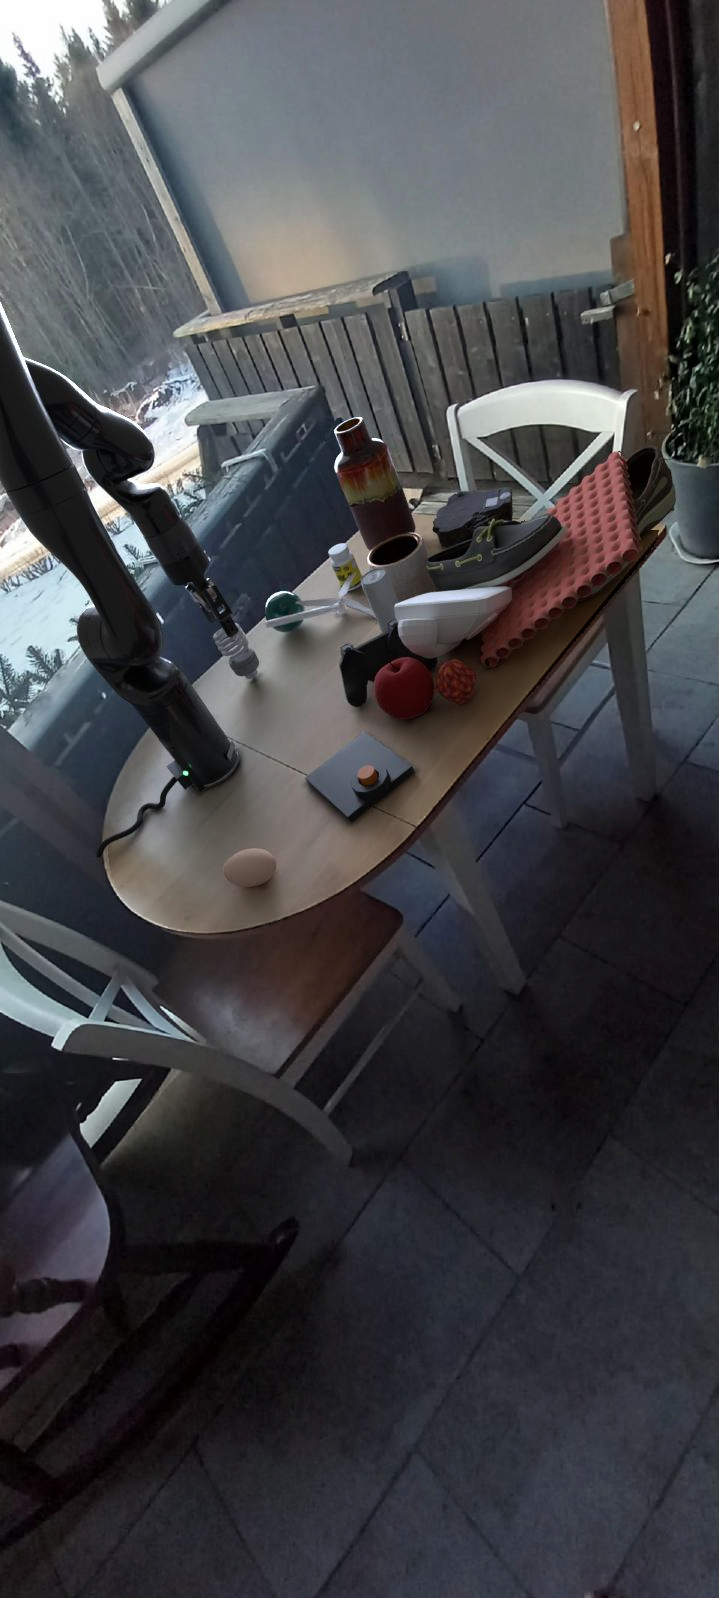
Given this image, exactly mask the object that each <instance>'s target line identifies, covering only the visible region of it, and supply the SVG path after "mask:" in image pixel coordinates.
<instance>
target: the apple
mask: <svg viewBox="0 0 719 1598" xmlns="http://www.w3.org/2000/svg"><path fill="white" fill-rule="evenodd" d="M386 661H387V662H389V663H388V664H387V665H385V666H384V667H383V668H381V669H380V670H379V672H378V673H377V675H376V677H375V681H374V682H373V694H374V698H375V701H376V703H377V704H378V706H379V708H380V709H381V710H382V711H383V712H384V713H385V714H387V715H389V716H390V717H393V718H396V719H401V720H409V719H413V718H415V717H418V716H420V715H422V714H424V713H425V712H426V711H428V709H429V707H430V706H431V704H432V702H433V700H434V696H435V681H434V678H433V676H432V674H431V672H430V671H429V670H428V669H427V667H426V666H425V665H424V664H423V663H422V662H420V661H419V660H416V659H413V658H410V657H403V658H399V659H396V660H394V661H392V662H390V661H389V658H387V659H386Z"/></svg>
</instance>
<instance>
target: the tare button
mask: <svg viewBox="0 0 719 1598" xmlns="http://www.w3.org/2000/svg"><path fill="white" fill-rule="evenodd" d="M357 775H358V778H359V780H360V782H361V783H362V785H364V786H369V785H372V784H373V783H375V782H376V781H377V779H378V775H377V773H376V771H375V769H374V767H372V766H364V767H362V768H361V769H360V770H359V771H358V774H357Z"/></svg>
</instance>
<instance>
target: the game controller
mask: <svg viewBox="0 0 719 1598" xmlns="http://www.w3.org/2000/svg"><path fill="white" fill-rule="evenodd" d="M398 623H399V622H398V621H397V619H393V620H390V621H389V622H388V623H387V625H388V626H387V630H388V631H386V632H385V633H381V634H379V635H377V636H375V637H373V638H371V639H369V640H367V641H365V642H363V643H361V644H360V645H358V646H356V647H355V646H354V645H353V644H351V643H350V642H347V643H344V644H343V645H341V646H340V651H339V652H340V659H339V663H338V667H339V671H340V674H341V679H342V685H343V691H344V695H345V698H346V701H347V703H348V704H349V705H350V706H352V707H354V708H359V707H362V706H363V705H365V704H366V702H367V699H368V684H369V681H370V682H373V683H374V681H375V677H376V675H377V673H378V672H379V670H380V669H381V668H383V667H384V666H385V665H387V664H388V663H389V662H387V661H386V659H387V658H389V661H390V662H392V661H394V660H396V659H399V658H403V657H410V658H413V659H416V660H419V661H420V662H422V663H423V664H424V665H425V666H426V667H427V669H428V670H429V672H430V671H433V670H434V669H435V668H436V667H437V663H438V657H435V658H431V659H430V658H425V657H423V656H420V655H418V654H415V653H413V652H412V651H410V650H409V649H408V648H407V647H406V646H405V645H404V644H403V642H402V640H401V638H400V637H399V632H398Z"/></svg>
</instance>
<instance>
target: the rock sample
mask: <svg viewBox="0 0 719 1598" xmlns="http://www.w3.org/2000/svg"><path fill="white" fill-rule="evenodd" d="M513 507H514V506H513V491H512V489H511V487H506V486H505V487H499V488H493V489H489V490H485V491H481V490H476V489H473V490H460V491H457V492H456V493H453V494H452V495H450V496H449V497H448V498H447V503H446V504H445V505H443V506H442V507H439V508H438V510H437V512H436V513H435V515H436V517H435V518H434V519H433V521H432V525H433V526H432V529H431V530H432V533H434V534H436V535H437V538H438V544H439V545H440V547H444V546H445V547H448V548H450V547H452V546H454V545H457V544H459V543H462V542H464V541H467V540H470V539H472V537H473V533H474V531H475V529H476V528H478V527H481V526H489V525H488V522H491V521H492V520H493V519H495V522H496V521H498V520H504V521H512V520H513V515H514V514H513V513H514V510H513V509H514V508H513Z"/></svg>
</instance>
